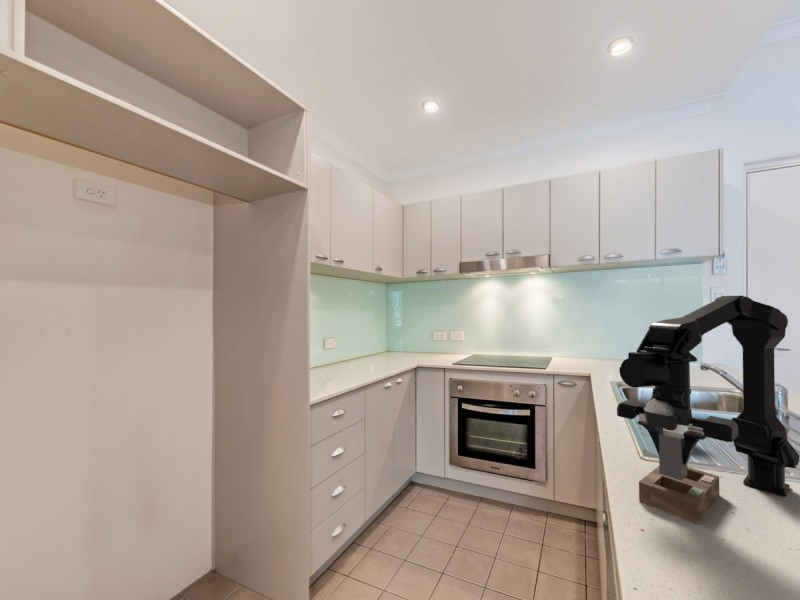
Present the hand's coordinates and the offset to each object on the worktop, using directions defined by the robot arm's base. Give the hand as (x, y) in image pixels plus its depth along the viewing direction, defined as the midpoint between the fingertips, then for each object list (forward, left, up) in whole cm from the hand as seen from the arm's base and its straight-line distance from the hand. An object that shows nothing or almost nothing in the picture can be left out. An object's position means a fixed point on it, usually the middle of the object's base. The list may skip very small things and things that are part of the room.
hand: (673, 460), depth 71 cm
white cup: (-40, -12, -9) cm, 43 cm away
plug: (0, 0, -3) cm, 3 cm away
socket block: (-4, 0, -9) cm, 10 cm away
